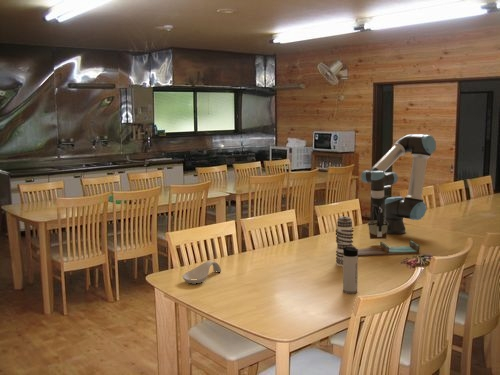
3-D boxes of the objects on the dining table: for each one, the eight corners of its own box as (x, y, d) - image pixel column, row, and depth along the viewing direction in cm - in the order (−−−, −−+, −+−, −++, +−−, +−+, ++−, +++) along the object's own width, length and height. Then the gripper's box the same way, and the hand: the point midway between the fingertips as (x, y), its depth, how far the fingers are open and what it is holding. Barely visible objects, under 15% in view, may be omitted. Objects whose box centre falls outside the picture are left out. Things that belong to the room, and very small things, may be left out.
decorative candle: (356, 263, 263) (357, 216, 259) (347, 268, 256) (347, 219, 252) (341, 260, 269) (342, 214, 265) (332, 264, 262) (332, 217, 258)
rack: (350, 250, 288) (350, 242, 287) (410, 248, 291) (410, 240, 290) (356, 256, 276) (357, 248, 275) (419, 253, 279) (419, 245, 279)
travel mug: (340, 289, 225) (340, 245, 222) (355, 288, 225) (355, 245, 223) (344, 294, 219) (344, 249, 216) (359, 293, 219) (359, 249, 216)
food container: (387, 236, 303) (387, 219, 301) (388, 238, 297) (388, 222, 295) (366, 236, 304) (366, 220, 302) (367, 239, 298) (367, 222, 296)
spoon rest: (197, 288, 230) (197, 273, 229) (177, 284, 237) (177, 269, 236) (226, 274, 250) (226, 260, 249) (207, 270, 256) (207, 257, 255)
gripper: (366, 194, 306) (366, 231, 309) (377, 200, 286) (376, 239, 290) (378, 194, 306) (377, 230, 310) (389, 199, 287) (389, 238, 291)
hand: (377, 235), depth 300 cm, fingers closed on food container, 6 cm apart
